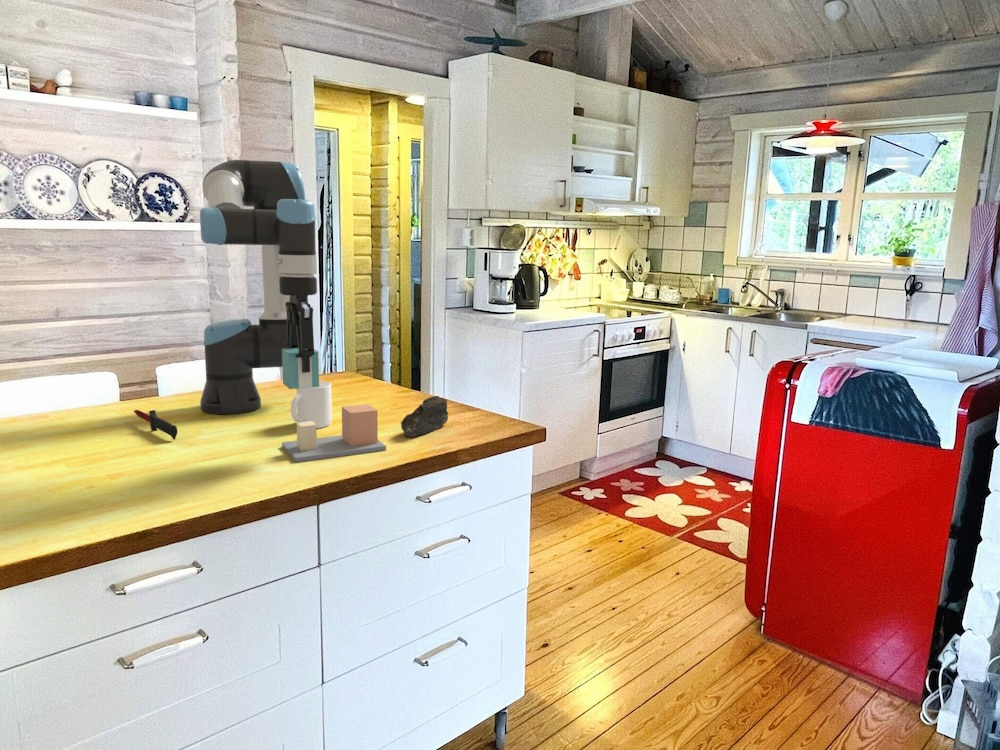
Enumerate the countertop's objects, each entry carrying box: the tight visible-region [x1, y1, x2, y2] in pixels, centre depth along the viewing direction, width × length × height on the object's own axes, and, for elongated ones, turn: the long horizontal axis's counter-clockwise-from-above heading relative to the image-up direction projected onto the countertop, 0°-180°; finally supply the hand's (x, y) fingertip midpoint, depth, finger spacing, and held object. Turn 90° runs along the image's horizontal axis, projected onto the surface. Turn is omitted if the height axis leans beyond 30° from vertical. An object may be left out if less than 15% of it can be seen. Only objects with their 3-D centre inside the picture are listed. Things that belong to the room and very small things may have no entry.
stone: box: [400, 395, 449, 438], centre depth 174 cm, size 7×8×15 cm
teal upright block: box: [281, 348, 320, 390], centre depth 152 cm, size 6×6×8 cm
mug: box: [290, 380, 333, 429], centre depth 175 cm, size 12×8×10 cm
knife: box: [133, 409, 178, 441], centre depth 168 cm, size 24×2×5 cm, turn 47°
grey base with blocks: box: [281, 403, 387, 463], centre depth 158 cm, size 12×20×9 cm, turn 120°
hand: (301, 383), depth 153 cm, fingers closed on teal upright block, 6 cm apart
